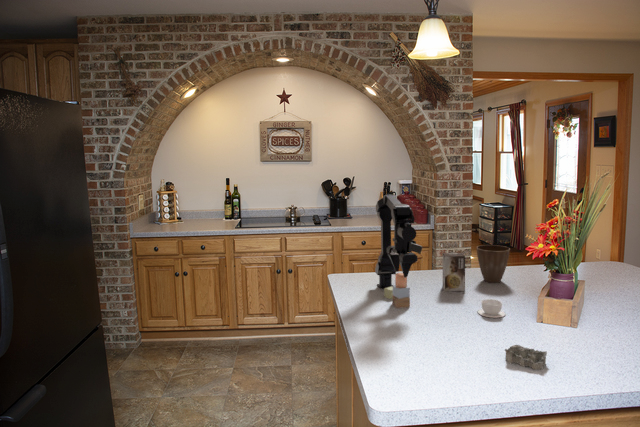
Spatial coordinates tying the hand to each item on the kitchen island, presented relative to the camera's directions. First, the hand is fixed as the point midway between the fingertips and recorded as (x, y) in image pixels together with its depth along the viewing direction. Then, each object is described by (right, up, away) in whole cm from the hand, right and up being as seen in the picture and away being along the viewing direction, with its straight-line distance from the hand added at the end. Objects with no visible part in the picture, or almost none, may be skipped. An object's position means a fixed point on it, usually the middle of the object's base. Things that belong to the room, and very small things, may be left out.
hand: (401, 274), depth 186 cm
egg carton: (+28, -20, -50) cm, 61 cm away
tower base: (0, -13, +1) cm, 13 cm away
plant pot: (+49, -8, +33) cm, 60 cm away
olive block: (-2, -12, +12) cm, 17 cm away
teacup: (+33, -14, -10) cm, 37 cm away
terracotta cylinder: (0, -5, 0) cm, 5 cm away
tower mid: (0, -9, +1) cm, 9 cm away
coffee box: (+27, -10, +21) cm, 36 cm away
